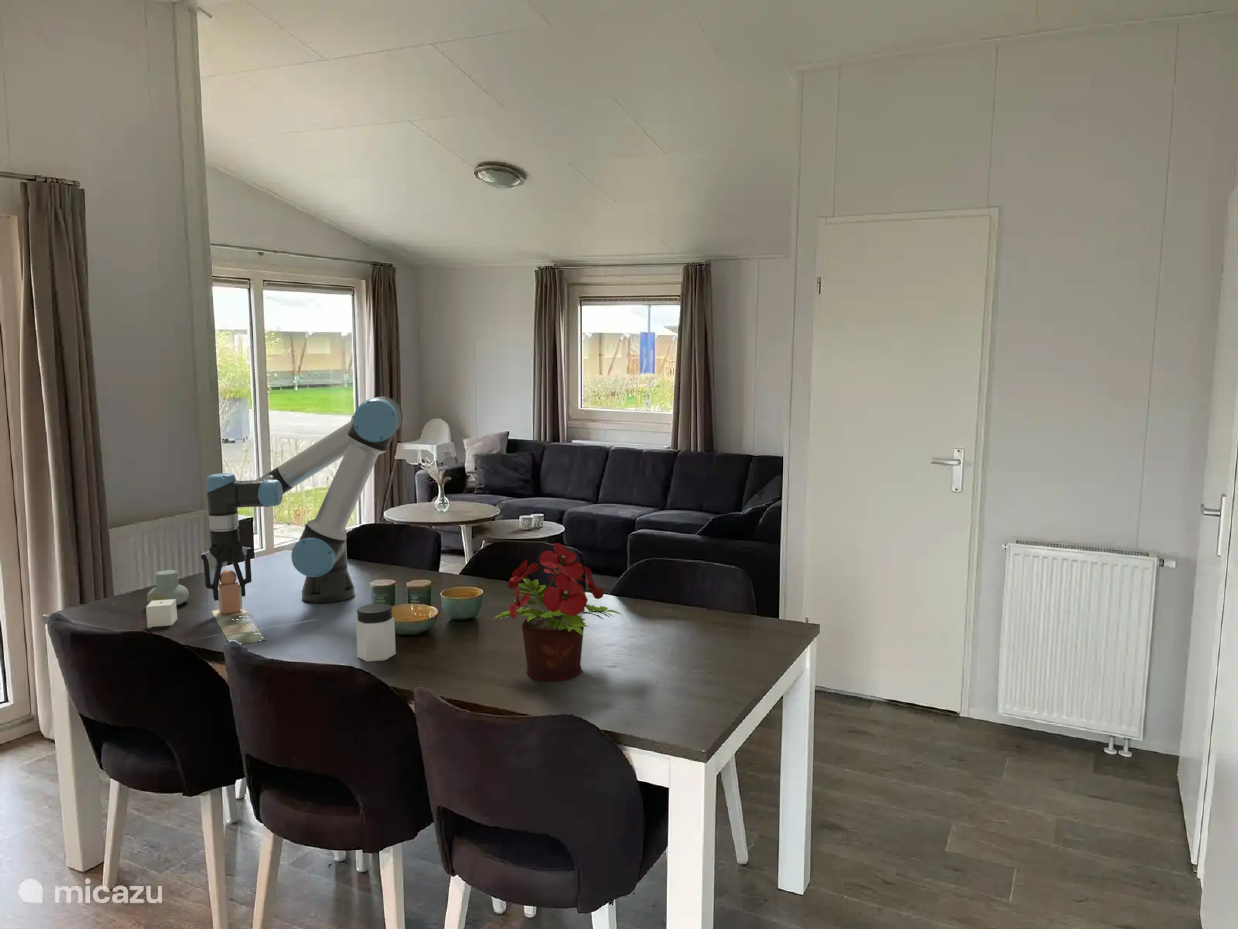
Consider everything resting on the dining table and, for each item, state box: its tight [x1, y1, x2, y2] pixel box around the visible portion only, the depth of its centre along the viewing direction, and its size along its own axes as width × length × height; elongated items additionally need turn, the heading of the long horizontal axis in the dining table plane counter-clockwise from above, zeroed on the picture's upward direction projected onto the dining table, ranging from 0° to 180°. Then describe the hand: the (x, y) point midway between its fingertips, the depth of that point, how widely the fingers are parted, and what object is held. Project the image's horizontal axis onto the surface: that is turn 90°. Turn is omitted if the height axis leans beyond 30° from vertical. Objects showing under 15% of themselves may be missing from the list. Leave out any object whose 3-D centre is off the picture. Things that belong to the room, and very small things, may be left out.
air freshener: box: [146, 569, 190, 607], centre depth 260 cm, size 11×8×10 cm
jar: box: [355, 603, 397, 663], centre depth 216 cm, size 9×8×12 cm
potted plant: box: [491, 542, 622, 682], centre depth 205 cm, size 30×27×30 cm
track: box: [211, 605, 267, 645], centre depth 241 cm, size 8×36×1 cm, turn 31°
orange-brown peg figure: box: [218, 569, 240, 614], centre depth 252 cm, size 4×4×12 cm
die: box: [145, 599, 178, 629], centre depth 243 cm, size 6×6×6 cm
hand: (230, 609), depth 253 cm, fingers closed on orange-brown peg figure, 4 cm apart
